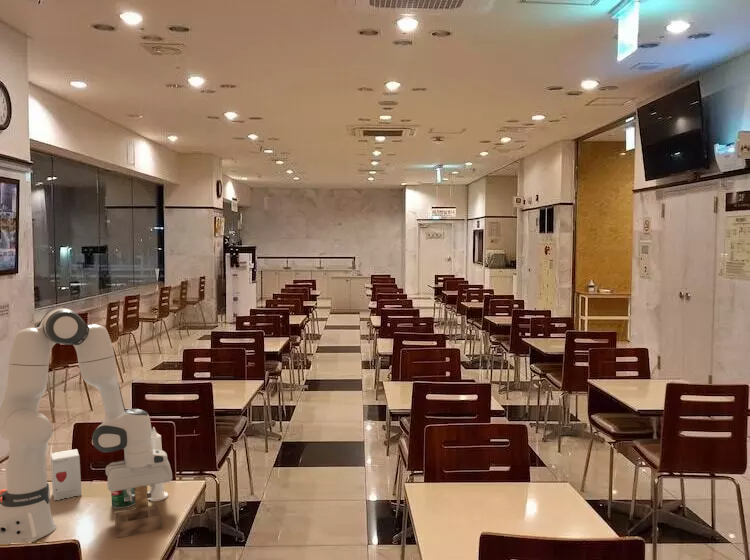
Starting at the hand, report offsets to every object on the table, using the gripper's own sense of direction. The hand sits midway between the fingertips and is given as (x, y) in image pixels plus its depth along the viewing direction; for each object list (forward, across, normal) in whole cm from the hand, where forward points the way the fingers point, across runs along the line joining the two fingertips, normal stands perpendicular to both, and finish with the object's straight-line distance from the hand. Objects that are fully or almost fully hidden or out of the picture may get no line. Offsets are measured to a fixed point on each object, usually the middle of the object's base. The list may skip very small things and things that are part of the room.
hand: (141, 499), depth 219 cm
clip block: (+4, -2, -11) cm, 12 cm away
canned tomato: (+4, -5, +10) cm, 12 cm away
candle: (+4, +6, +10) cm, 12 cm away
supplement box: (+4, -23, +29) cm, 37 cm away
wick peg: (+4, 0, 0) cm, 4 cm away
